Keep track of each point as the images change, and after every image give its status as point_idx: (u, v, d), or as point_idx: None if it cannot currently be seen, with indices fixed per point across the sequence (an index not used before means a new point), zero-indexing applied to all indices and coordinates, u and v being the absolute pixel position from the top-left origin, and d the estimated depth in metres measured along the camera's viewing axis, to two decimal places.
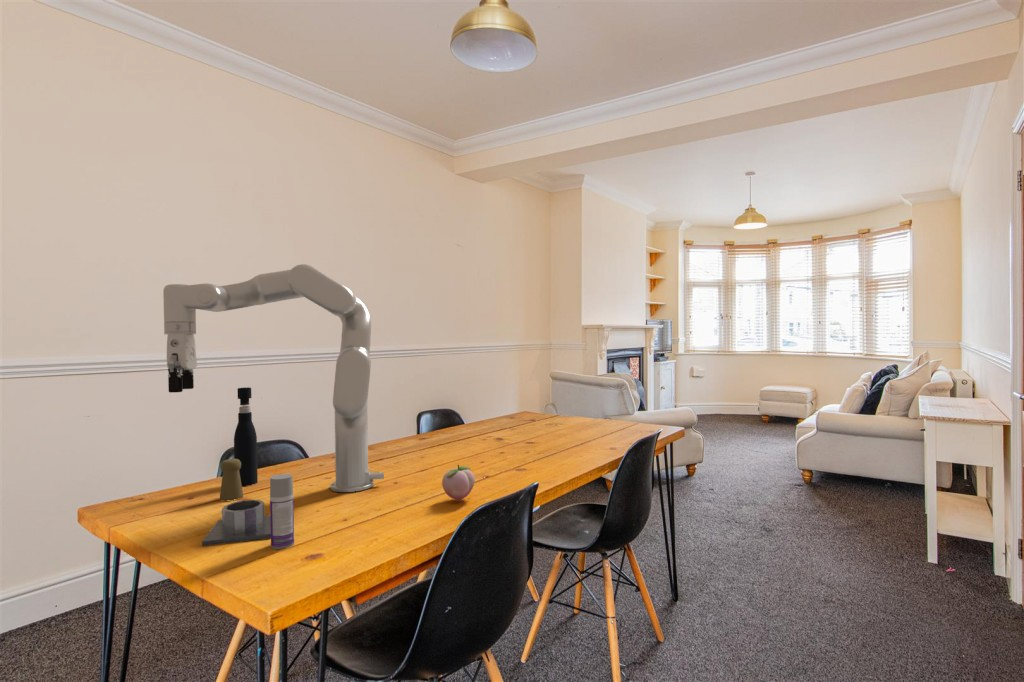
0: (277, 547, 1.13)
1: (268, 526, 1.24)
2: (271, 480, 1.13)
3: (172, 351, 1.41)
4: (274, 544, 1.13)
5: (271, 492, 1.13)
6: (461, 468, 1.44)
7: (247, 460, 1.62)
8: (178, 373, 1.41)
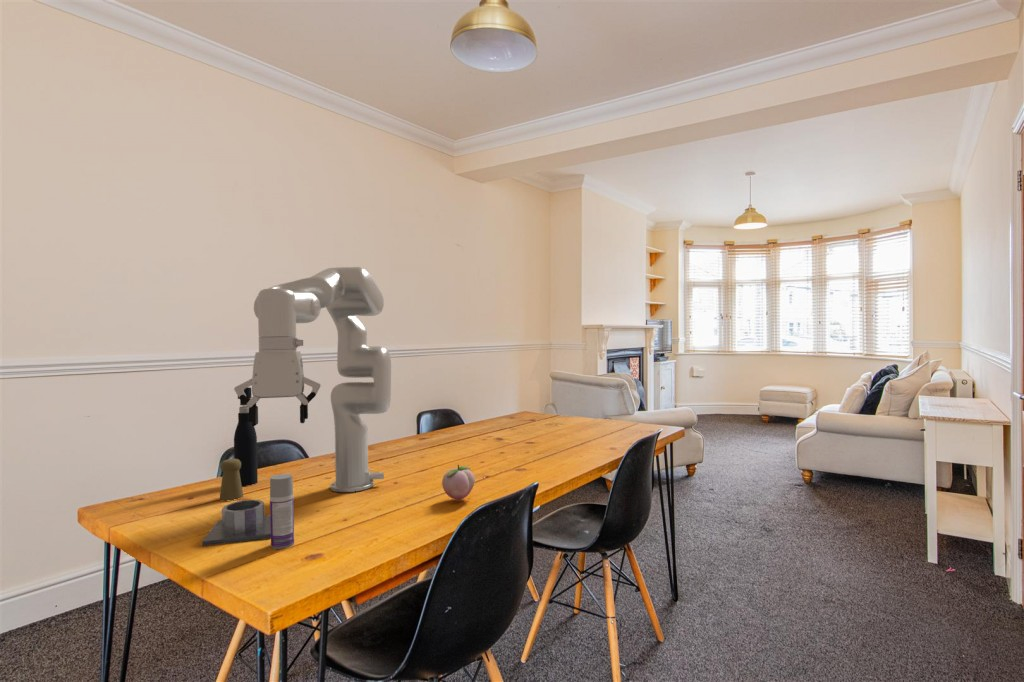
0: (277, 547, 1.13)
1: (268, 526, 1.24)
2: (271, 480, 1.13)
3: (302, 372, 1.16)
4: (274, 544, 1.13)
5: (271, 492, 1.13)
6: (461, 468, 1.44)
7: (247, 460, 1.62)
8: None
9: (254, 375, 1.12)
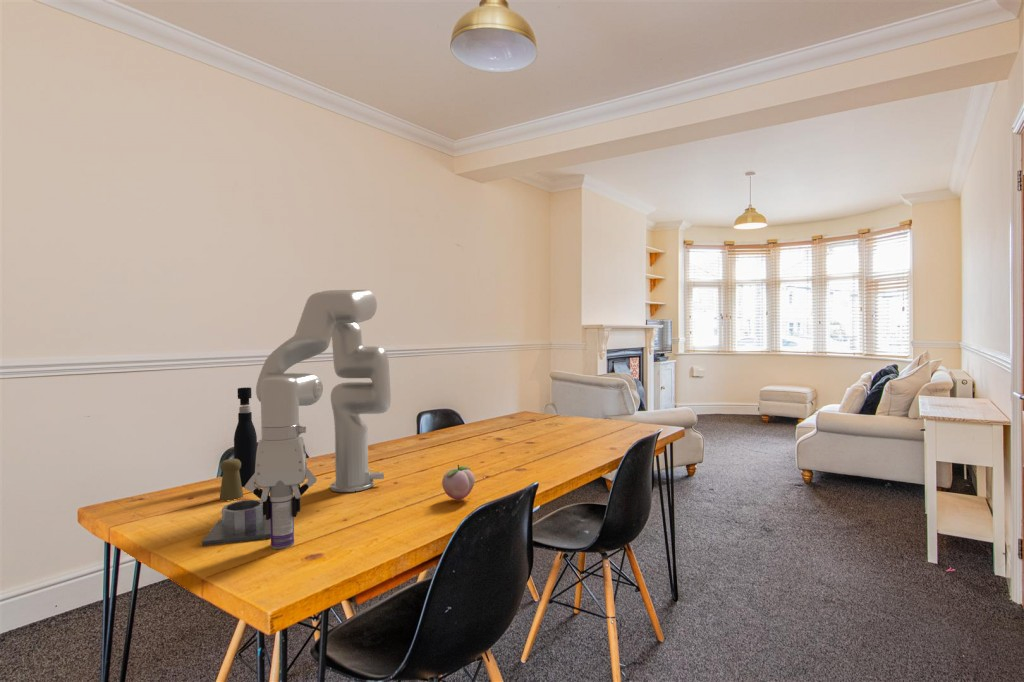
0: (277, 547, 1.13)
1: (268, 526, 1.24)
2: None
3: (305, 459, 1.16)
4: (274, 544, 1.13)
5: (271, 492, 1.13)
6: (461, 468, 1.44)
7: (248, 460, 1.62)
8: None
9: (257, 465, 1.12)
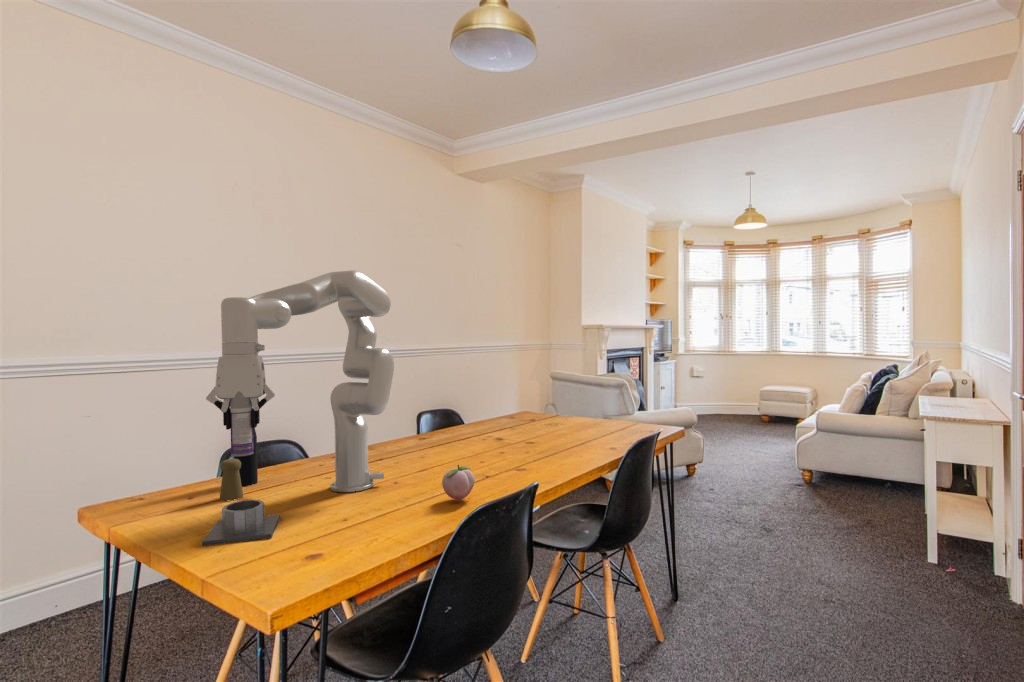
0: (236, 454, 1.21)
1: (268, 526, 1.24)
2: None
3: (263, 375, 1.24)
4: (234, 452, 1.21)
5: (231, 404, 1.22)
6: (461, 468, 1.44)
7: (247, 459, 1.62)
8: None
9: (217, 378, 1.20)
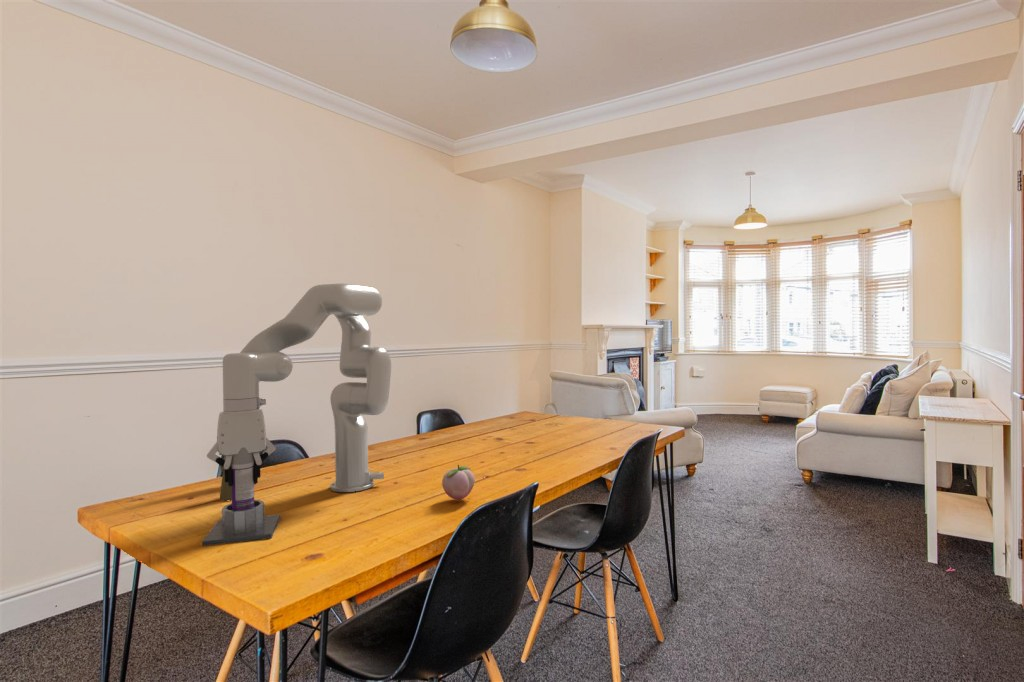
0: None
1: (268, 526, 1.24)
2: None
3: None
4: (237, 508, 1.21)
5: (234, 460, 1.21)
6: (461, 468, 1.44)
7: None
8: None
9: (221, 435, 1.20)
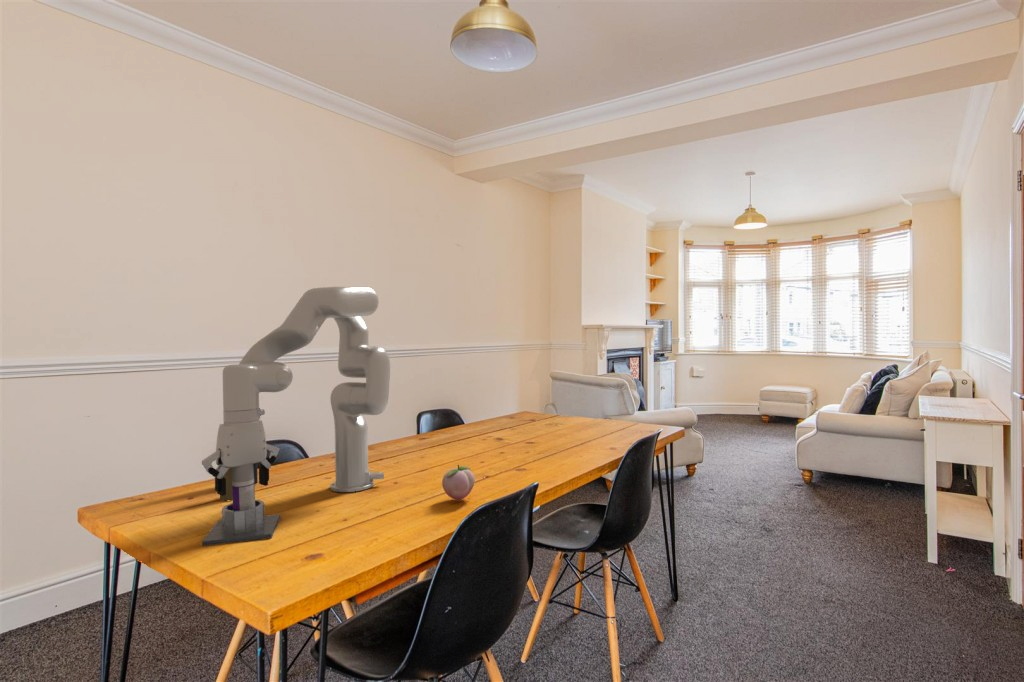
0: None
1: (268, 526, 1.24)
2: (236, 467, 1.22)
3: None
4: None
5: (237, 478, 1.21)
6: (461, 468, 1.44)
7: None
8: None
9: (226, 447, 1.19)
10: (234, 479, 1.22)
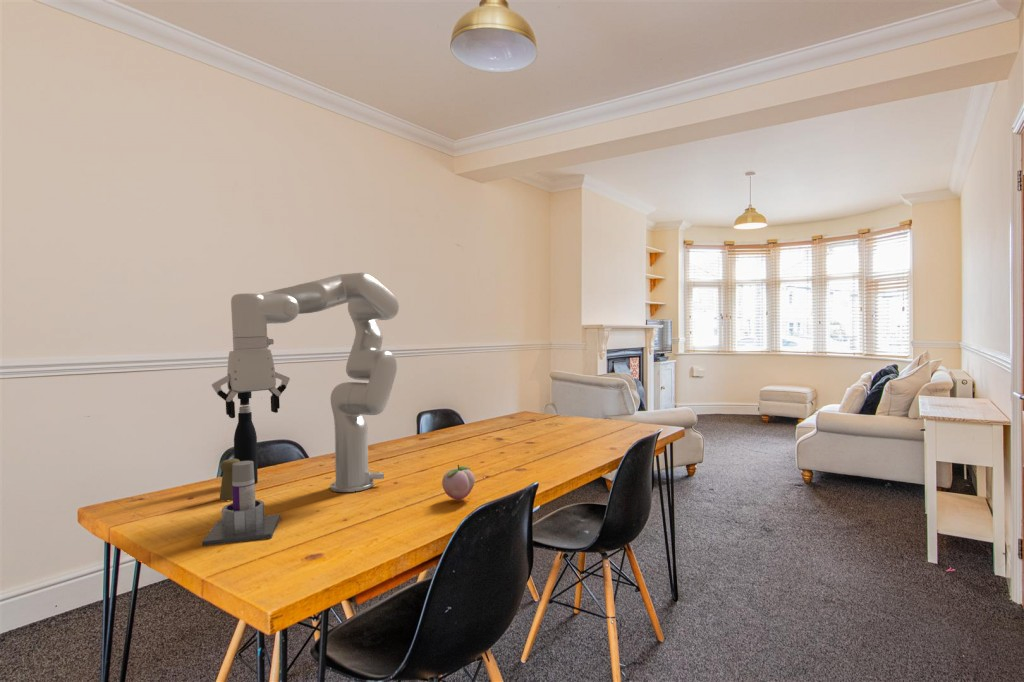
0: None
1: (268, 526, 1.24)
2: (237, 466, 1.22)
3: None
4: None
5: (237, 478, 1.22)
6: (461, 468, 1.44)
7: (247, 459, 1.62)
8: None
9: (234, 372, 1.24)
10: (234, 479, 1.22)
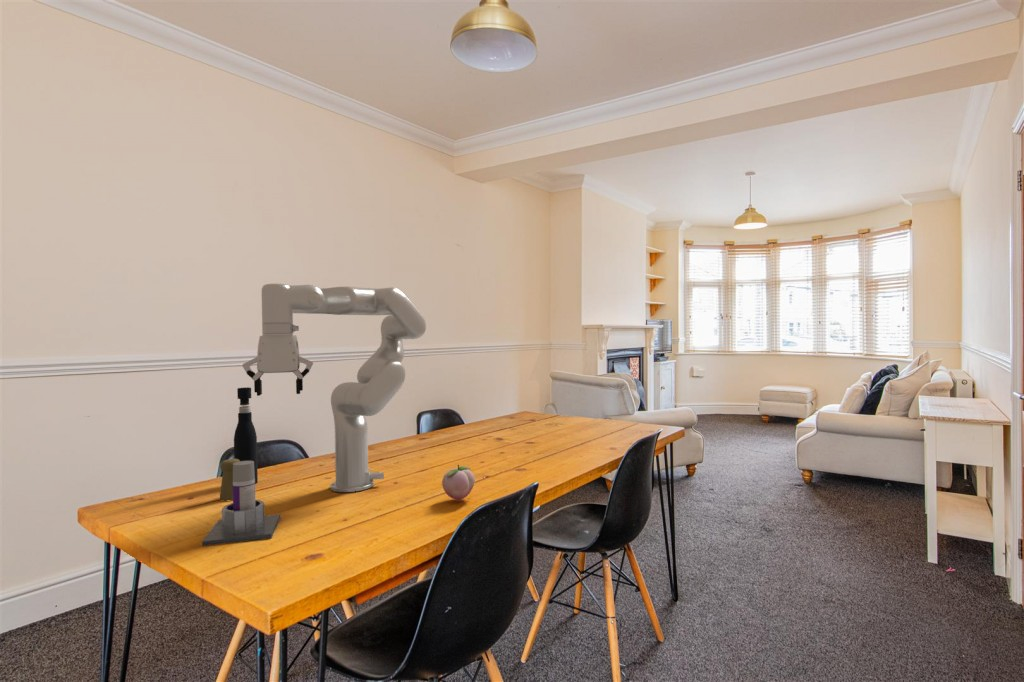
0: None
1: (268, 526, 1.24)
2: (237, 466, 1.22)
3: (298, 352, 1.41)
4: None
5: (238, 477, 1.22)
6: (461, 468, 1.44)
7: (247, 460, 1.62)
8: None
9: (258, 354, 1.37)
10: (235, 479, 1.22)
